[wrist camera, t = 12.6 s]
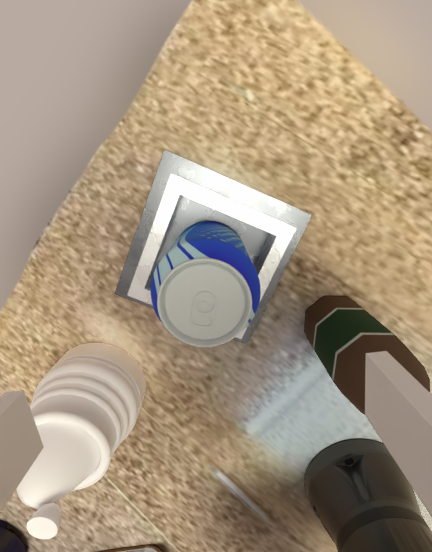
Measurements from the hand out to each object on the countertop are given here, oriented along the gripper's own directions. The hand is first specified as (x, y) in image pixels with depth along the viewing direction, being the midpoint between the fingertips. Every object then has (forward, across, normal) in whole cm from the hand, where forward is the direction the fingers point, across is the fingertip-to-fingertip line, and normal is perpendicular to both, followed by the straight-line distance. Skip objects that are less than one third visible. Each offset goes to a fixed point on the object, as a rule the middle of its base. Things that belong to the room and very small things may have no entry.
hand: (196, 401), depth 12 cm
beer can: (+26, 0, 0) cm, 26 cm away
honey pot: (+27, +18, +16) cm, 36 cm away
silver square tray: (+27, 0, 0) cm, 27 cm away
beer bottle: (+27, -15, +11) cm, 32 cm away
